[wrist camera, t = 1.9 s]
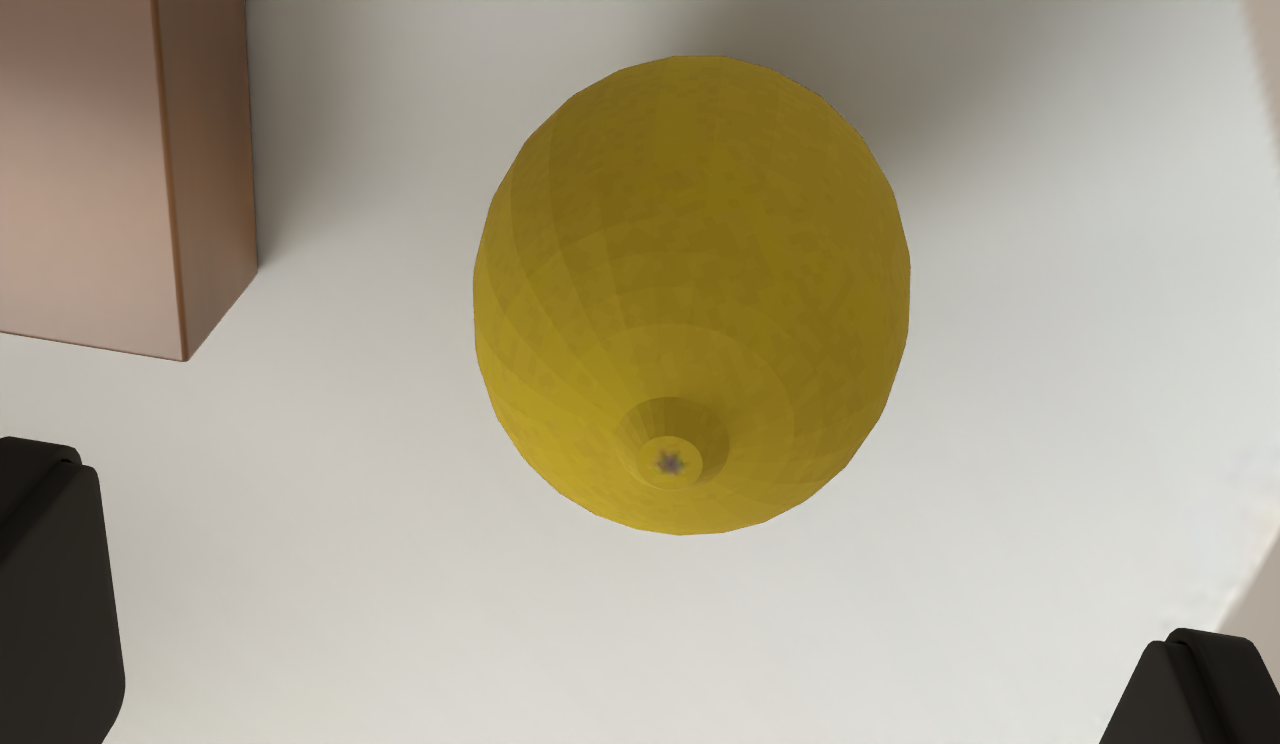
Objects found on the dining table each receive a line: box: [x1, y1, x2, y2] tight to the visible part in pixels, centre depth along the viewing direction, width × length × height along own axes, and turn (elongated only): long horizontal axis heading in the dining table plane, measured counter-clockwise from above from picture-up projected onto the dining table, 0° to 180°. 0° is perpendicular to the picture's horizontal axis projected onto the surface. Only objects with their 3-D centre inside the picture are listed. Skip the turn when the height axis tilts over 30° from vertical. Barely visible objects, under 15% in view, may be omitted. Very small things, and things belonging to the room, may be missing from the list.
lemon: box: [473, 56, 911, 535], centre depth 16 cm, size 6×6×8 cm
